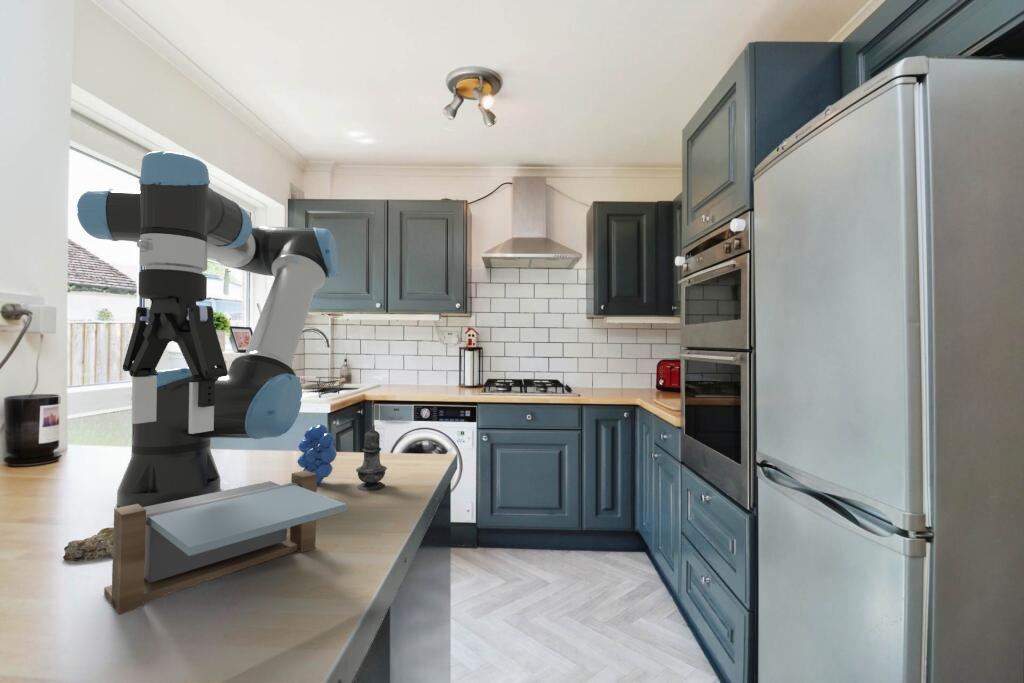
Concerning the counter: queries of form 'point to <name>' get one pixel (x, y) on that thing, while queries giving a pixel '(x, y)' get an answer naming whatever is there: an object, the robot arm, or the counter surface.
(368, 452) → the salt shaker
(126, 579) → the frame
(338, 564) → the counter surface
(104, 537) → the mineral rock
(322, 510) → the trapdoor
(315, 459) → the grapes
